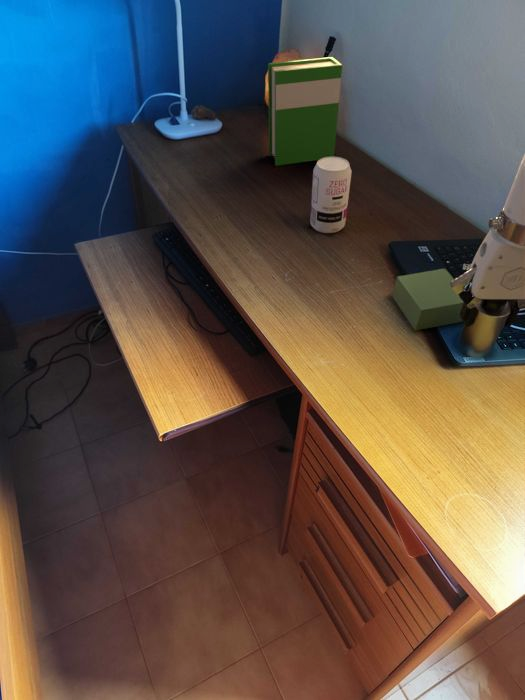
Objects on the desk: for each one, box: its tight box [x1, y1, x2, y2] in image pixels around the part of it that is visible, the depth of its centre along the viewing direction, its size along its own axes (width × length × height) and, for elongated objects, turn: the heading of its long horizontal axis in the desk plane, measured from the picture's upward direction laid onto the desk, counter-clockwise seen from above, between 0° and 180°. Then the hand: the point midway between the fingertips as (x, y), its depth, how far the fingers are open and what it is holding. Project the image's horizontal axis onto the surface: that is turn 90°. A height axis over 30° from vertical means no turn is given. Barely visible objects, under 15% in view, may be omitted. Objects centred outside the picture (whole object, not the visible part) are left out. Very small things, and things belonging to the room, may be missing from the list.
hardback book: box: [267, 56, 343, 167], centre depth 128 cm, size 18×7×24 cm, turn 105°
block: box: [392, 268, 464, 331], centre depth 87 cm, size 10×10×5 cm
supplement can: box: [309, 156, 353, 234], centre depth 105 cm, size 8×8×15 cm
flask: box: [456, 299, 511, 359], centre depth 78 cm, size 6×6×11 cm
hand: (485, 320), depth 78 cm, fingers closed on flask, 5 cm apart
